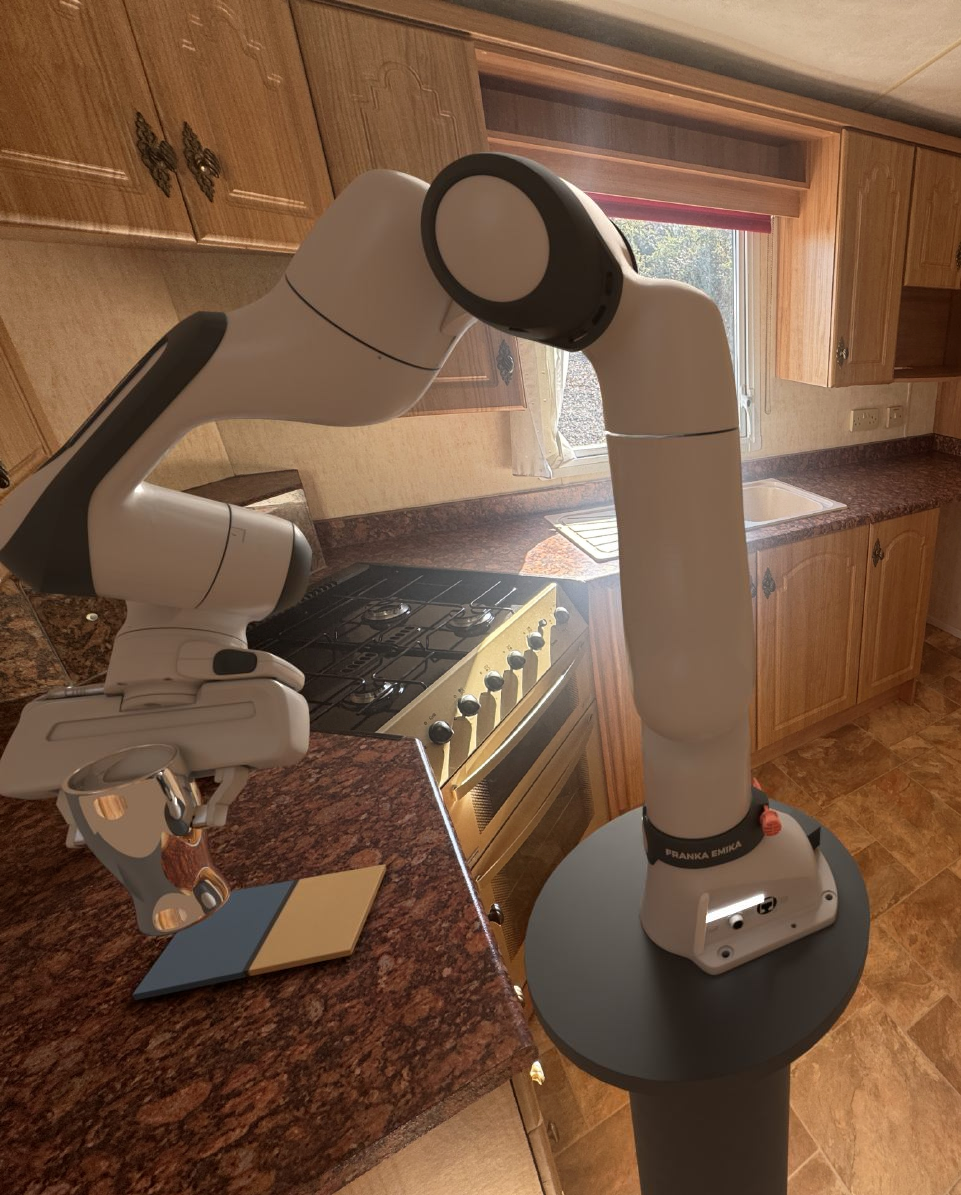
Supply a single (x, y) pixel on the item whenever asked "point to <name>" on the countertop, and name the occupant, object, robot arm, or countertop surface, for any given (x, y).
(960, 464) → the countertop surface
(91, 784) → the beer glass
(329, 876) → the sorting board
